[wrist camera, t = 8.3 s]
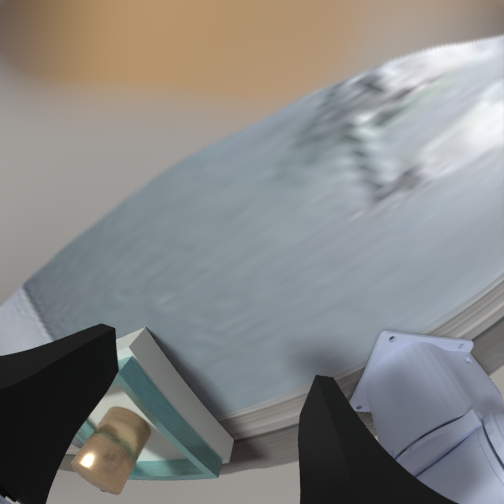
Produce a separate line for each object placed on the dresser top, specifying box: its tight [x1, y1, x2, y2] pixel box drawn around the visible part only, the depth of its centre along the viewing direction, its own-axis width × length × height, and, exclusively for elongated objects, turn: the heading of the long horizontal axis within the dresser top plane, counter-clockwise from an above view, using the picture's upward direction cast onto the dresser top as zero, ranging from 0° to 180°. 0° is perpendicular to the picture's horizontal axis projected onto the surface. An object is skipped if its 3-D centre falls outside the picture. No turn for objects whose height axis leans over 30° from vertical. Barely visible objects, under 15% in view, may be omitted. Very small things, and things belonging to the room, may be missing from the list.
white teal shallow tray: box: [71, 327, 234, 464], centre depth 23 cm, size 18×14×4 cm
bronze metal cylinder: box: [71, 406, 151, 495], centre depth 18 cm, size 4×6×7 cm
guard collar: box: [76, 356, 223, 480], centre depth 20 cm, size 13×13×2 cm
